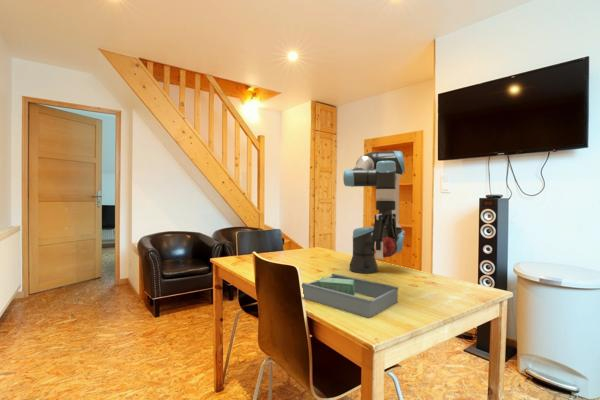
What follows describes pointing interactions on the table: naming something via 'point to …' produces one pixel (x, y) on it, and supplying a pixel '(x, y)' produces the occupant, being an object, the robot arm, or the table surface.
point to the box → (338, 285)
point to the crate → (351, 303)
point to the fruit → (387, 246)
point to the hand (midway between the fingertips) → (385, 256)
